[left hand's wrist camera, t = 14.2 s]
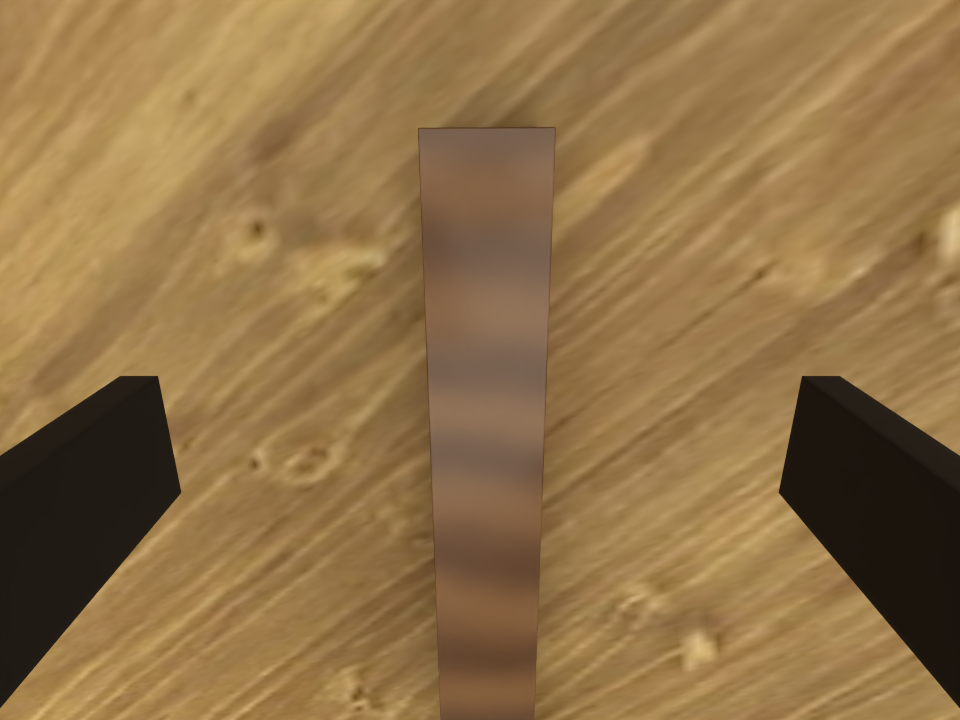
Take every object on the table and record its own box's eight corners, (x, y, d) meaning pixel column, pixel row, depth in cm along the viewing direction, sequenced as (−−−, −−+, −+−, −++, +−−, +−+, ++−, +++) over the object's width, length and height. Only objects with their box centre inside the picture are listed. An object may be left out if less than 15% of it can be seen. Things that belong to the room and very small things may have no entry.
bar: (434, 129, 34) (417, 127, 26) (539, 129, 34) (556, 127, 26) (456, 893, 58) (451, 1013, 50) (518, 893, 58) (523, 1014, 50)
